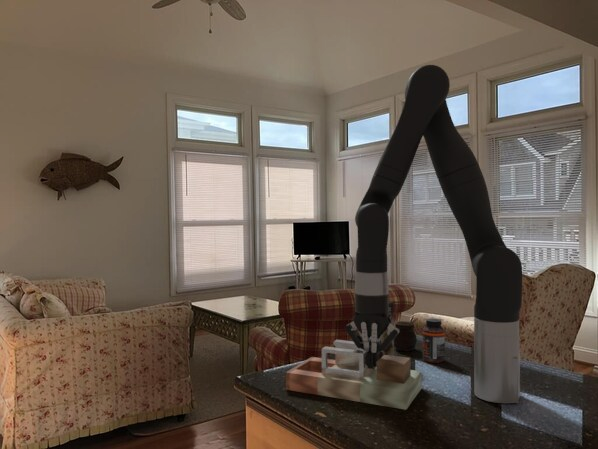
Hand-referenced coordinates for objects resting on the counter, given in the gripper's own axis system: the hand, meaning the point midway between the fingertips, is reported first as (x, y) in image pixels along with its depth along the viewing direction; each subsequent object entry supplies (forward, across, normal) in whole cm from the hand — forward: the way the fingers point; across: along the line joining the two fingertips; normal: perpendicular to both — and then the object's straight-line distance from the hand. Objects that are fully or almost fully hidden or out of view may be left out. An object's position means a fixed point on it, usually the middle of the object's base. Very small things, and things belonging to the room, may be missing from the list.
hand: (371, 367), depth 113 cm
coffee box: (+6, +6, -24) cm, 26 cm away
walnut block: (+2, -5, 0) cm, 5 cm away
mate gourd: (+6, +2, -39) cm, 40 cm away
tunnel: (+2, +5, 0) cm, 6 cm away
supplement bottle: (+6, -8, -31) cm, 32 cm away
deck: (+6, +4, 0) cm, 7 cm away
